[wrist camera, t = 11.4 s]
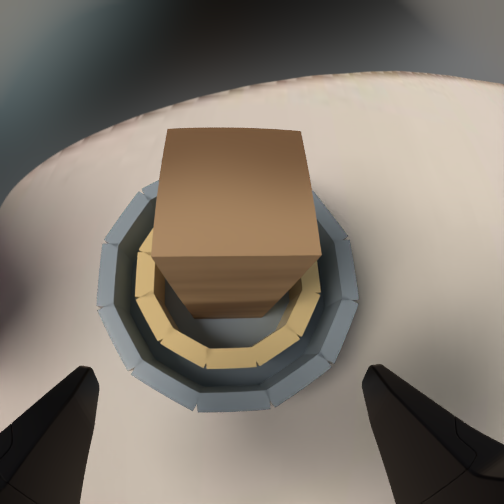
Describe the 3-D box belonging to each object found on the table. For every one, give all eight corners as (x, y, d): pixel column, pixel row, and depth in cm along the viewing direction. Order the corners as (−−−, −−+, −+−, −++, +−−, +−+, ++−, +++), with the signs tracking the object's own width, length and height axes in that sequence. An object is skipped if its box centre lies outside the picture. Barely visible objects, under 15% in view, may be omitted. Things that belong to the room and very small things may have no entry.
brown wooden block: (261, 317, 17) (321, 254, 7) (194, 318, 17) (151, 256, 6) (258, 254, 18) (300, 131, 8) (194, 255, 18) (167, 128, 8)
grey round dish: (192, 439, 14) (185, 457, 11) (90, 253, 18) (68, 232, 15) (370, 318, 18) (398, 309, 15) (257, 164, 22) (263, 133, 18)
